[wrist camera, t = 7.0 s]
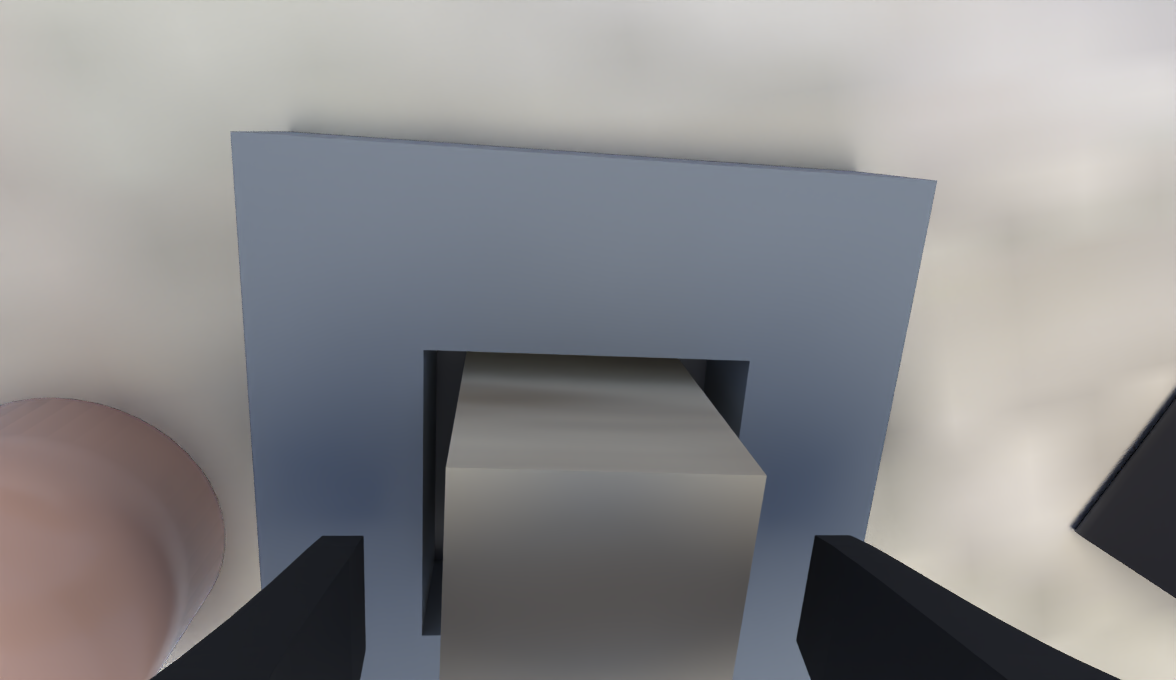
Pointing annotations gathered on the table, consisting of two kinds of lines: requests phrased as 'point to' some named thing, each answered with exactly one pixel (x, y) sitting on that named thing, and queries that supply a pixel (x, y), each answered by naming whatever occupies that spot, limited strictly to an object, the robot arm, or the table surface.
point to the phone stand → (1142, 509)
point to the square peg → (593, 523)
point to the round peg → (98, 542)
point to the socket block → (557, 338)
